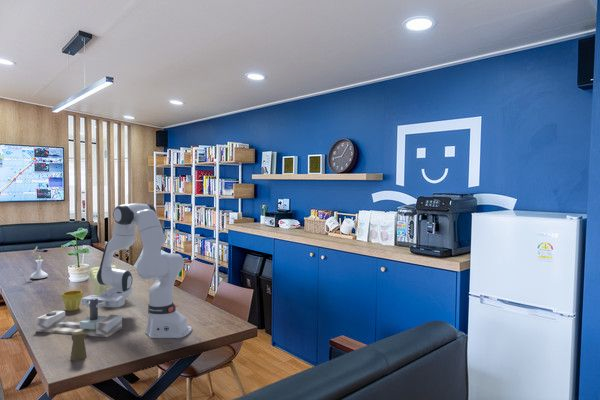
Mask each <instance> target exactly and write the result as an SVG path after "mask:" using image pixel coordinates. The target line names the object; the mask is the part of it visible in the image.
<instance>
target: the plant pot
mask: <svg viewBox="0 0 600 400" xmlns="http://www.w3.org/2000/svg"><path fill="white" fill-rule="evenodd" d="M61 298H62V299H61V300H62V301H63V303H64V307H65V311H67V310H68V311H70V312H71V311H77V310H79V309H80V306H81V302H82V298H83V291H82V290H68V291H64V292H63V293H62V294H61Z"/></svg>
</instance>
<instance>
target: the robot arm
mask: <svg viewBox="0 0 600 400" xmlns="http://www.w3.org/2000/svg"><path fill="white" fill-rule="evenodd" d="M112 214H113V215H112V216H113V220H114V225H113V228H112V229H113V231H112V237H111V238H110V239H109V240H108V241H107V242H106V244H105V245H104V249H103V254H102V256H101V262H100V265H99V267H100V268H99V270H98V273H97V277H96V278H97V281H98V282H99V284H101V285H109V286H111V287H110V288H108V289H106V291H104V292H103V293H102V294H101V295H94V294H90V295H87V296H84V297H82V298H81V305H82V306H86V307H87V308H90V299H93V298H97V299H98V304H96V308H98V309H100V308H102V307H104V308H105V307H106V308H107V307H108V308H120V307H122V306H124V305H125V303H126V302H125V301H126V299H127V298H129V297H130V296H131V295H132V293H133V287H132V285H133V276H132V275H133V274H132V273H131V271H130V270H127V269H121V268H117V267H116V268H117V269H116V268H112V267H111V265H112V262H113V258H114V254H115V253H116V251H122V250H127V249H128V248H130V247H131V246H132V245H133V244H134V243H135V239H136V227H137V228H138V232H139V237H140V240H141V244H142V255H141V258H140V260H139V261H138V263H137V265H136V272H137V275H138V277H140V279H142V280H154V279H156V280H155V281H154V283H153V284H152V285H151V286H150V287H149V291H148V293H149V296H148V297H149V298H148V299H149V303H148V307H147V312H148V317H147V318H148V319H147V324H146V328H145V334H146V335H147V336H148V337H149V338H150V339H182V338H184V337H185V336H188V335H189V334H190V333H191V332H192V331H193V329H192V326H190V325H189V324H188V320H187V317H185V316H184V315H183V314H181V312H179V311H178V310H176V309H177V306H178V304H177V303H176V304H174V302H173V296H174V295H173V293H174V287H175V286H174V285H175V281H176V279H177V277H178V275H179V274H180V272H182V270H183V269H184V266H185V260H184V257H183V256H182V255H181V254H180V253H173V252H170V253H164V254H162V251H161V250H162V247H164V245H165V243H166V237H165V234H164V229H163V228H162V223H161V221H160V219H159V217H158V215H157V210H156V207H155V206H154V205H153V204H151V203H134V202H133V203H128V204H127V203H126V204H123V203H122V204H120V205H117V206H115V208H114V209H113V213H112Z"/></svg>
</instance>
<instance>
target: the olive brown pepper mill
mask: <svg viewBox="0 0 600 400" xmlns="http://www.w3.org/2000/svg"><path fill="white" fill-rule="evenodd" d="M86 336H87V335H86V334H85V332H83V331H78V332H75V333H73V334H71V340H72V344H71V352H70V361H71V360H72V362H77V361H83V360H85V359H86V358H87V357H88V356H87V350H86V349H87V348H86V344H85V339H86Z"/></svg>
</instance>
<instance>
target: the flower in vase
mask: <svg viewBox="0 0 600 400" xmlns="http://www.w3.org/2000/svg"><path fill="white" fill-rule="evenodd" d="M37 250H38V246H36V247H35V248H34V249H33V252H31V254H30V256H34V254H35V253H36V254H37V257H36V259H35V262H36V265H37V266H36V267H37V269H36V271H34V272H33V273H32V274H30V275H29V276H30V278H31V279H33V280H34V279H35V280H36V279H37V280H39V279H44V278H47V277H48V276H49V274H48V273H47V272H45V271H44V270H42V263H43V261H44V259H41V258H42V256H41V254H39V253H38V251H37Z"/></svg>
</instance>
